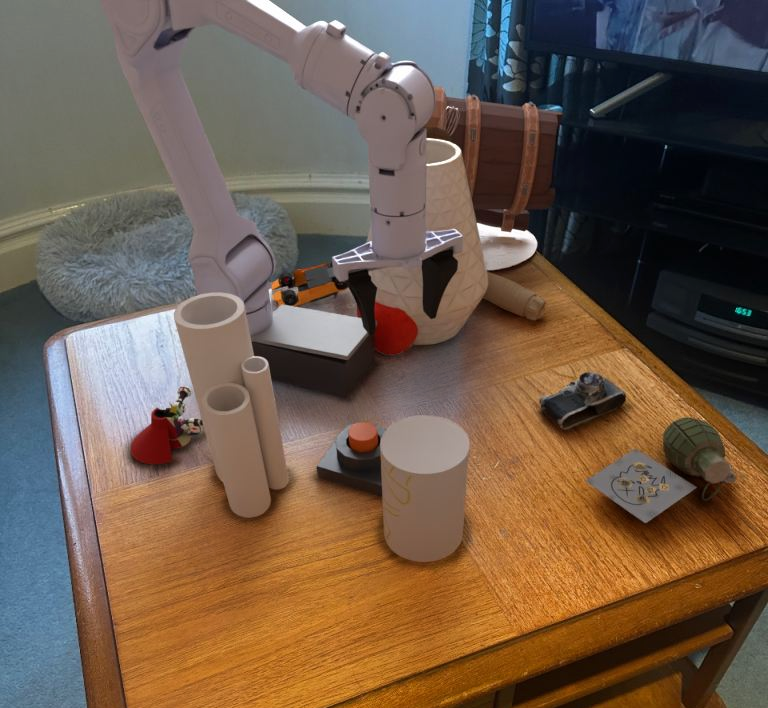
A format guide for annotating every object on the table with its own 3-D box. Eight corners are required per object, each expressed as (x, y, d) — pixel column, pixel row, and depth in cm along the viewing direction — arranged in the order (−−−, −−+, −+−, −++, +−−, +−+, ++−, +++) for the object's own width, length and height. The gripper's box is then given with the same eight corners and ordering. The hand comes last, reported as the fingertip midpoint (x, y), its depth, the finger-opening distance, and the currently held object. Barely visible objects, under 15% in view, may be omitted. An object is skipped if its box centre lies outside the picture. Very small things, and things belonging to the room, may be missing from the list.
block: (317, 477, 80) (314, 453, 78) (349, 434, 85) (347, 411, 83) (382, 496, 78) (381, 473, 75) (411, 451, 83) (411, 428, 80)
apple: (384, 321, 102) (382, 270, 97) (436, 340, 99) (437, 288, 93) (345, 351, 98) (341, 299, 92) (399, 372, 94) (398, 319, 88)
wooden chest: (410, 267, 115) (535, 275, 115) (421, 145, 94) (574, 155, 94) (414, 181, 122) (532, 189, 122) (425, 49, 101) (567, 59, 101)
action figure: (228, 441, 85) (219, 404, 81) (151, 479, 81) (137, 442, 77) (192, 405, 90) (182, 368, 86) (117, 438, 86) (103, 402, 82)
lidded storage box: (375, 363, 95) (373, 328, 92) (346, 399, 90) (343, 364, 86) (287, 342, 99) (282, 308, 96) (255, 375, 94) (248, 341, 90)
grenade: (687, 470, 84) (728, 515, 76) (638, 446, 82) (674, 490, 74) (724, 425, 81) (770, 467, 73) (674, 399, 79) (716, 439, 71)
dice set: (638, 460, 78) (635, 473, 79) (606, 481, 76) (603, 494, 77) (677, 485, 75) (673, 498, 76) (644, 507, 73) (641, 520, 74)
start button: (344, 448, 79) (343, 436, 78) (357, 431, 81) (356, 419, 80) (370, 456, 78) (369, 443, 77) (382, 438, 80) (382, 426, 79)
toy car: (304, 248, 111) (310, 267, 113) (255, 291, 105) (262, 310, 108) (367, 260, 105) (371, 280, 108) (319, 306, 99) (324, 326, 102)
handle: (526, 318, 97) (438, 275, 103) (536, 333, 103) (452, 291, 109) (545, 286, 97) (456, 245, 103) (554, 303, 103) (469, 263, 108)
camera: (532, 410, 88) (537, 381, 84) (599, 384, 91) (606, 356, 88) (558, 433, 84) (564, 404, 81) (627, 406, 88) (634, 377, 85)
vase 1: (208, 458, 83) (165, 303, 69) (268, 440, 85) (238, 285, 71) (237, 523, 76) (195, 364, 61) (301, 501, 78) (275, 342, 63)
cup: (380, 506, 77) (376, 418, 68) (456, 500, 77) (461, 412, 69) (387, 565, 71) (384, 477, 63) (468, 558, 72) (476, 470, 63)
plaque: (395, 229, 122) (395, 220, 121) (500, 209, 127) (501, 201, 126) (445, 286, 109) (445, 277, 108) (559, 262, 114) (561, 253, 113)
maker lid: (377, 324, 91) (377, 320, 90) (347, 360, 86) (347, 356, 85) (282, 308, 96) (281, 304, 95) (248, 341, 90) (247, 336, 90)
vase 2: (406, 281, 110) (405, 116, 93) (507, 314, 102) (525, 142, 86) (335, 333, 100) (320, 161, 84) (441, 374, 93) (447, 194, 76)
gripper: (345, 235, 69) (354, 355, 79) (479, 205, 73) (471, 324, 82) (321, 207, 73) (331, 324, 83) (448, 180, 77) (444, 295, 87)
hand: (399, 322), depth 83 cm, fingers open, 7 cm apart
